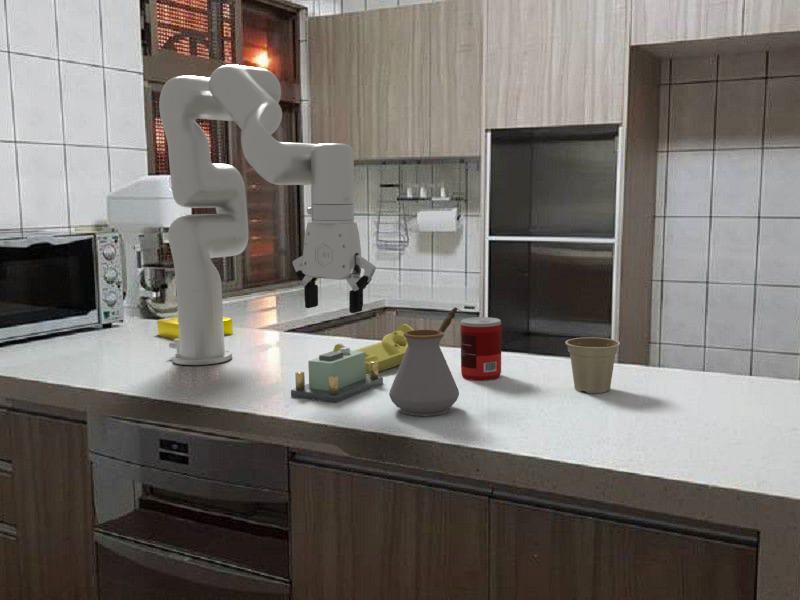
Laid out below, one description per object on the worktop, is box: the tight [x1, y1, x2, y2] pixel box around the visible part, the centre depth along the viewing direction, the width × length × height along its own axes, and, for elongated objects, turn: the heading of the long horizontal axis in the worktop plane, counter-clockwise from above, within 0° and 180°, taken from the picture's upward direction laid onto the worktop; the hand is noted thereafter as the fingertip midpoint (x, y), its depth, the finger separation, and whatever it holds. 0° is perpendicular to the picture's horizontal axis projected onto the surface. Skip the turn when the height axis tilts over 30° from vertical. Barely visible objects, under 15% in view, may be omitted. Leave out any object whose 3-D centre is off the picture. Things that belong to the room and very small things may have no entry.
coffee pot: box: [389, 306, 463, 417], centre depth 133 cm, size 21×12×15 cm, turn 155°
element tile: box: [156, 316, 234, 340], centre depth 206 cm, size 15×15×5 cm
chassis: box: [290, 361, 384, 404], centre depth 144 cm, size 10×16×4 cm, turn 150°
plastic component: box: [332, 323, 415, 374], centre depth 165 cm, size 20×7×10 cm
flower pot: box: [565, 336, 621, 394], centre depth 140 cm, size 9×9×9 cm
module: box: [307, 346, 366, 391], centre depth 144 cm, size 5×11×6 cm, turn 150°
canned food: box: [460, 316, 502, 382], centre depth 152 cm, size 8×8×11 cm
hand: (333, 309), depth 143 cm, fingers open, 9 cm apart
